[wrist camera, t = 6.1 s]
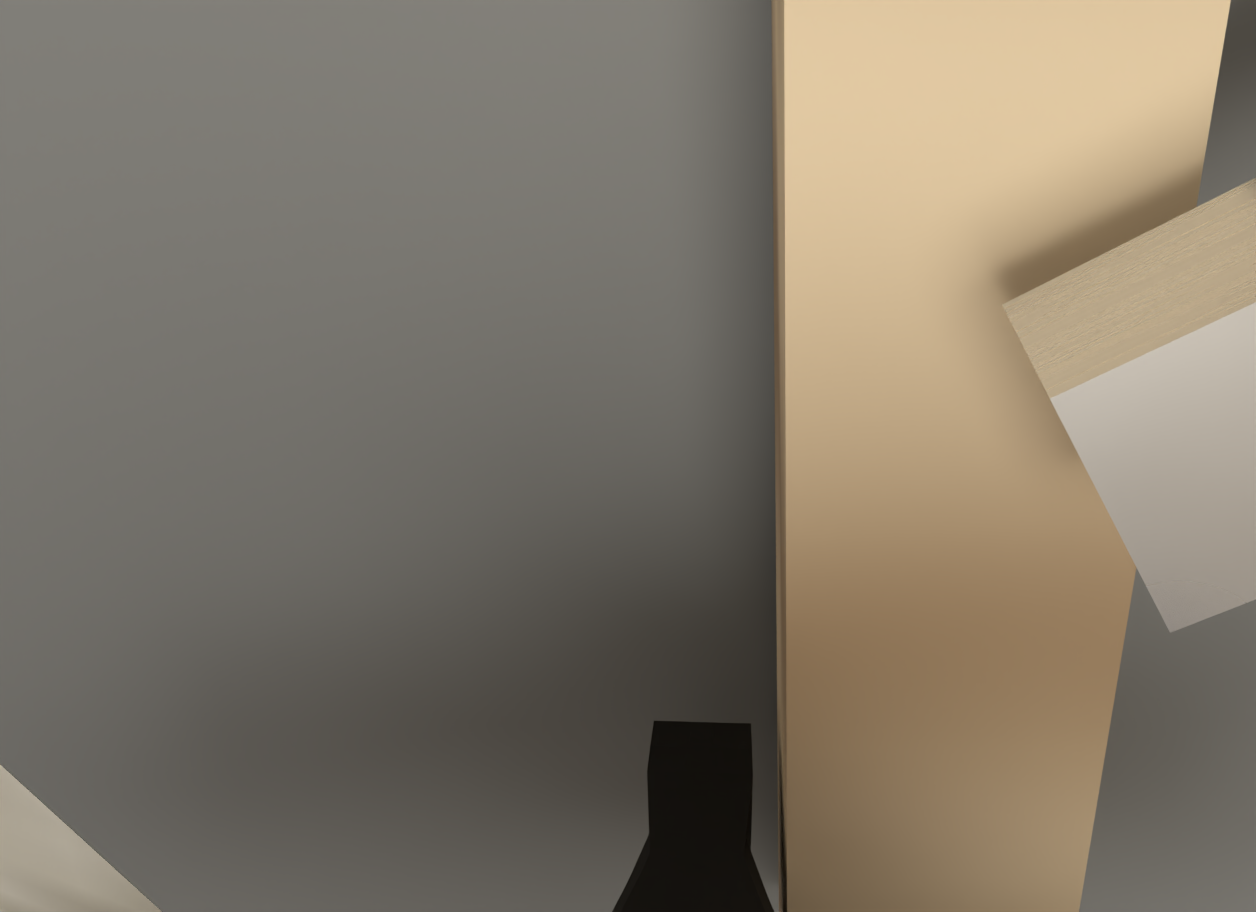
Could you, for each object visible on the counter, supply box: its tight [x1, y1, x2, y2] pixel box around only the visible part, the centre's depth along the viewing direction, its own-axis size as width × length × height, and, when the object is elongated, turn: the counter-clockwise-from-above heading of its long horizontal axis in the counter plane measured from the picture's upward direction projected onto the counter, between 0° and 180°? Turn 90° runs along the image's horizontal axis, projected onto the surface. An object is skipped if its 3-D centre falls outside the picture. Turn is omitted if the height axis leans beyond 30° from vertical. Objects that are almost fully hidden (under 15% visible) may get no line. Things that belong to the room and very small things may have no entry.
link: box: [771, 0, 1231, 912], centre depth 9 cm, size 16×4×3 cm, turn 4°
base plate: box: [0, 0, 1256, 912], centre depth 11 cm, size 18×20×6 cm
